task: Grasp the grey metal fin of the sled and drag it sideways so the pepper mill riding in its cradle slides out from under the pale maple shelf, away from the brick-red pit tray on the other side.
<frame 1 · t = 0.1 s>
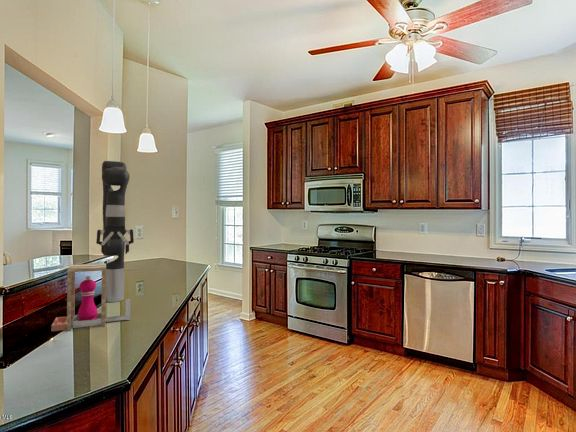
hand: (115, 253, 153), 29 cm above the table, fingers open, 8 cm apart
pepper mill: (87, 324, 150), resting in sled
sled: (101, 311, 153), point 4 cm above the table, slide at 0.0 cm
shelf tunnel: (87, 323, 150), on the table
pit tray: (61, 326, 146), on the table
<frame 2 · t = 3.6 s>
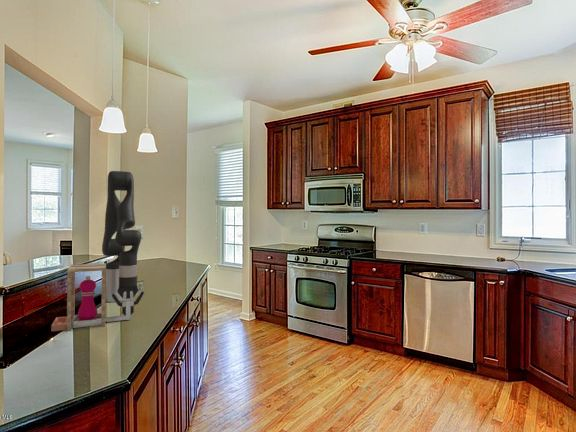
hand: (127, 314, 157), 2 cm above the table, fingers closed on sled, 2 cm apart
sled: (102, 311, 153), point 4 cm above the table, slide at 0.0 cm, touching gripper
everything else where it was.
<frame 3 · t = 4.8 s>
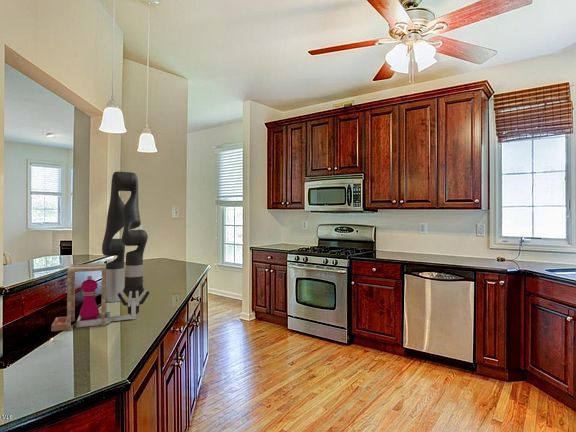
hand: (133, 314, 158), 2 cm above the table, fingers closed on sled, 2 cm apart
pepper mill: (89, 323, 151), resting in sled
sled: (107, 311, 154), point 4 cm above the table, slide at 2.2 cm, touching gripper, pepper mill
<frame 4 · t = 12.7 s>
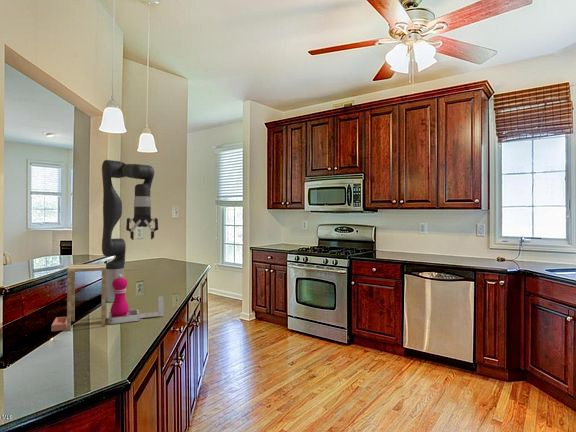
hand: (142, 239, 173), 34 cm above the table, fingers open, 8 cm apart
pepper mill: (119, 320, 156), resting in sled
sled: (137, 308, 159), point 4 cm above the table, slide at 13.8 cm
at the end: pepper mill inside the target area (4.6 cm from its centre), resting in sled; pepper mill tilted 0°; sled slide at 13.8 cm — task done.
